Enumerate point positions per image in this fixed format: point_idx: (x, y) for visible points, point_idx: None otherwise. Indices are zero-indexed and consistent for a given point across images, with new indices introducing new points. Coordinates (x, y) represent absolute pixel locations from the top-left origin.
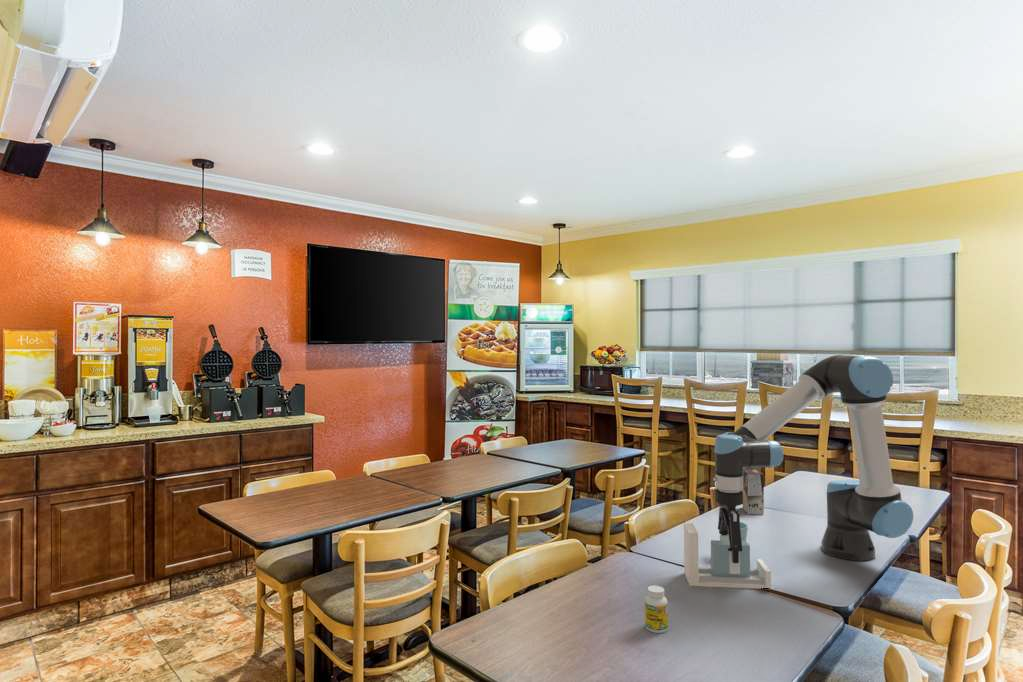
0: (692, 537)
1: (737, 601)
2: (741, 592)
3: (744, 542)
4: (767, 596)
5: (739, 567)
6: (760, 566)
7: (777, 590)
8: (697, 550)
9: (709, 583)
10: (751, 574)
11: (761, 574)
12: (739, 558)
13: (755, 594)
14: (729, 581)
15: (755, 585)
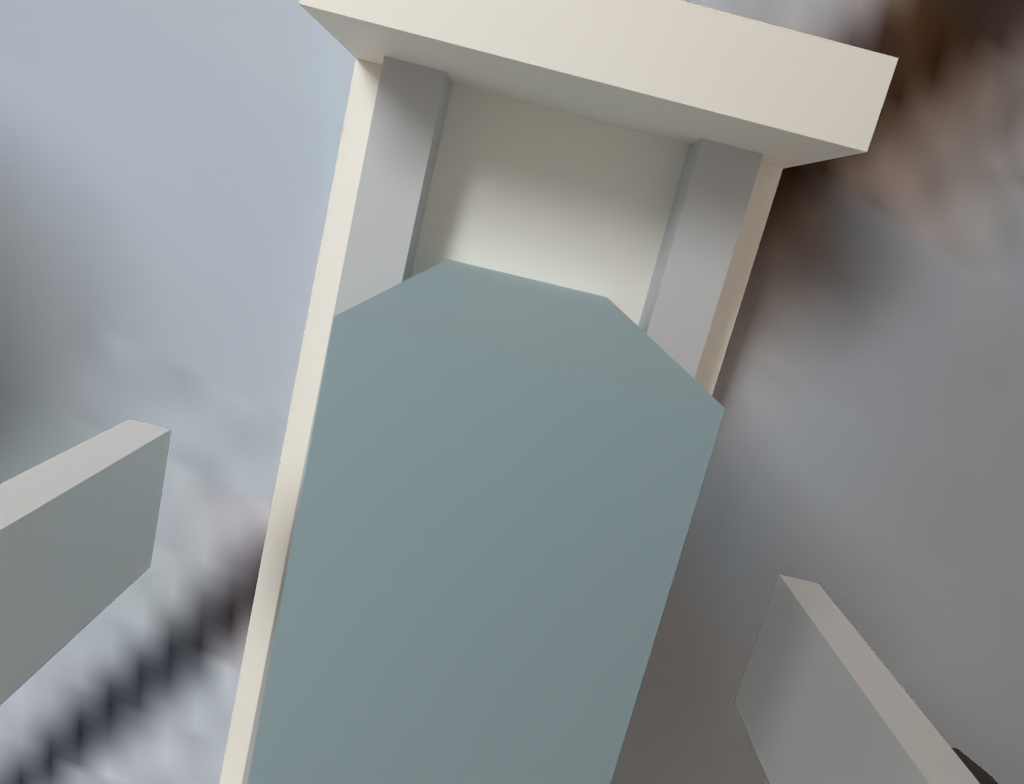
0: None
1: (977, 644)
2: (788, 501)
3: (426, 428)
4: (955, 262)
5: (855, 644)
6: (558, 78)
7: (833, 36)
8: None
9: None
10: (432, 179)
11: (602, 109)
12: (945, 752)
13: (872, 374)
14: None
15: (741, 296)
